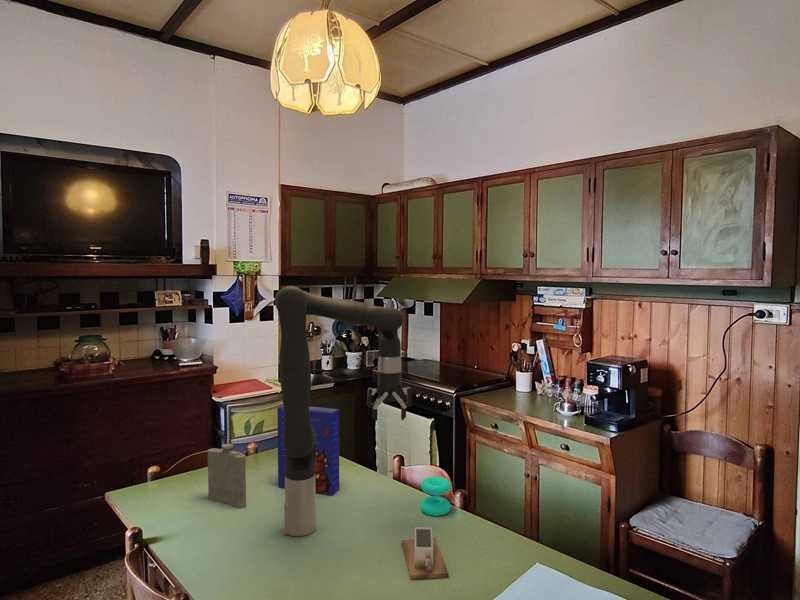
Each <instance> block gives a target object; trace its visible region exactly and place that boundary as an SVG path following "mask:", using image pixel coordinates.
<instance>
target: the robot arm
mask: <svg viewBox="0 0 800 600" xmlns="http://www.w3.org/2000/svg"><path fill="white" fill-rule="evenodd" d="M274 304H275V305H274V306H275V308H276V310H277V314H278V319H279V326H280V345H279V357H278V358H279V359H278V360H279V361H278V362H279V363H278V365H279V368H278V369H279V380H280V388H281V390H280V391H281V397H282V403H283V404H282V405H284V416H285V420H284V441H283V443H284V448H285V450H286V462H285V489H284V503H283V504H284V506H283V507H284V509H283V515H284V516H283V517H284V523H283V525H284V529H283V530H284V535H285V536H287V535H289V536H292V537H304V536H309V535H310V534H312V533H313V532H315V531H316V527H317V526H316V524H317V523H316V522H317V520H316V519H317V517H316V516H317V515H316V514H317V513H316V505H317V504H316V494H315V467H316V432H315V429H314V427H313V426H312V425H311V424H310V416H309V406H310V402H311V395H312V394H311V391H312V370H311V369H312V367H311V357H310V349H309V343H308V337H307V316H315V317H316V316H317V317H323V318H328V319H331V320H333V321H334V320H335V321H339V322H343V323H348V324H352V325H353V324H354V325H359V326H369V327H371V328H372V327H373V328H377V334H378V335H377V336H378V359H377V387H376V388H373V387H368V389H367V399H366V400H367V401H366V406H367V408H370V409H372V418H373V420H374V421H377V422H378V407H379V406H380V405H381V404H382V403H383V402H386V403H388V402H392V403H395V402H398V404H399V405H400V406H401V407H400V419H401V421H404V420H405V419H406V418H407V408H409V407H410V408H411V407H412V405H413V401H412V400H413V399H412V388H411V387H410V386H407V387H403V386H402V356H401V355H402V354H401V353H402V352H401V350H402V349H401V348H402V346H401V345H402V343H401V339H400V337H399V334H398V333H399V332H398V331H399V329H400V328H401V327H402V326H403V323H404V316H403V313H401V312H402V311H400V310H398V309H396V308H394V307H390V306H377V305H373V304H369V303H366V302H362V301H356V300H352V299H351V300H349V299H343V298H336V297H335V298H334V297H329V296H328V297H327V296H322V295H317V294H314V293H310V292H308V291H306V290H302V289H301V288H299V287H297V286H294V285H287V286H284V287H282V288H280V289H279V290H278V291H277V292H276V294H275V297H274ZM402 393H404V394H405V395H406V402H404V401H403V399H402V398H401V397H400V396H401V395H402ZM375 394H377V395H378V397H377V398H376V400H375V401H374V402H373V401H372V400H373V399H372V398H373V396H374V395H375ZM372 402H373V403H372Z"/></svg>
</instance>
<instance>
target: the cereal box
mask: <svg viewBox="0 0 800 600" xmlns="http://www.w3.org/2000/svg"><path fill="white" fill-rule="evenodd" d="M276 410H277V412H276V413H277V488H278V489H283V490H285V462H286V450H285V448H284V443H283V441H284V420H285V416H284V405H283V404H282V405H280V406H279V407H277V409H276ZM309 416H310V424H311V425H312V426H313V427H314V429H315V432H316V467H315V495H322V496H327V497H328V496H329V497H333V496H334V495H335V494H337V493H338V492H339V490H340V409H339V408H330V407H329V408H328V407H321V406H320V407H318V406H310V405H309Z"/></svg>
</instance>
